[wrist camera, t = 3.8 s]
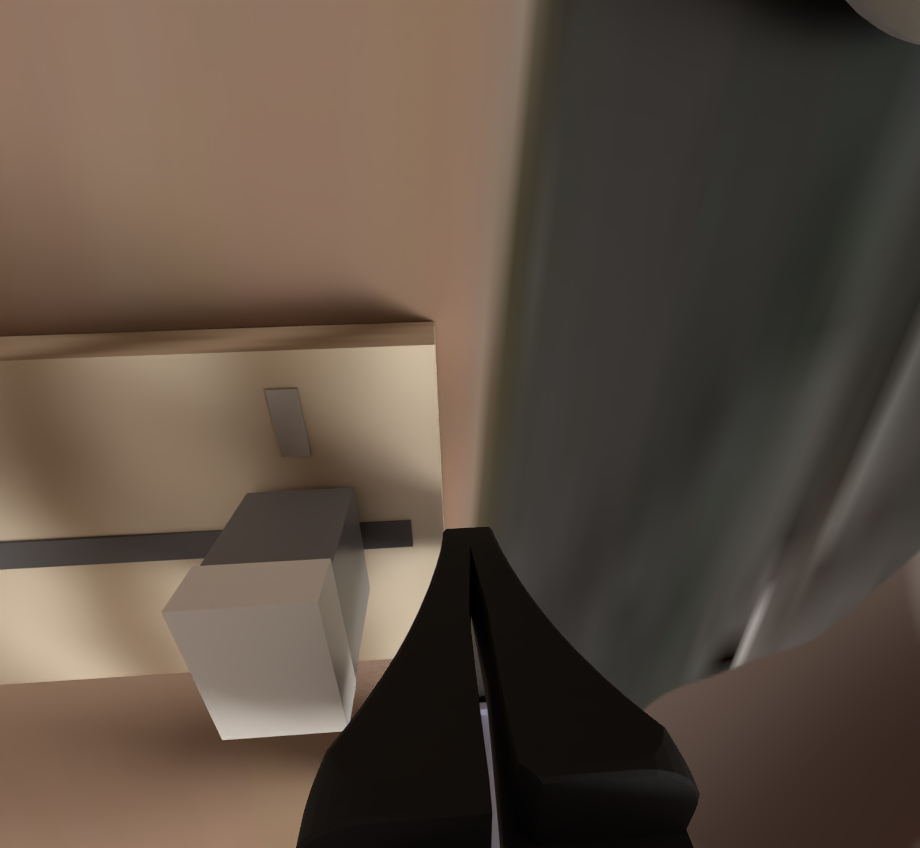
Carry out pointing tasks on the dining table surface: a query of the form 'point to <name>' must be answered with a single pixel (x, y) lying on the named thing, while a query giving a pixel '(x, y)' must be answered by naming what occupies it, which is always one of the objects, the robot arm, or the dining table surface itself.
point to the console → (200, 476)
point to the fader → (277, 615)
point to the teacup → (892, 17)
